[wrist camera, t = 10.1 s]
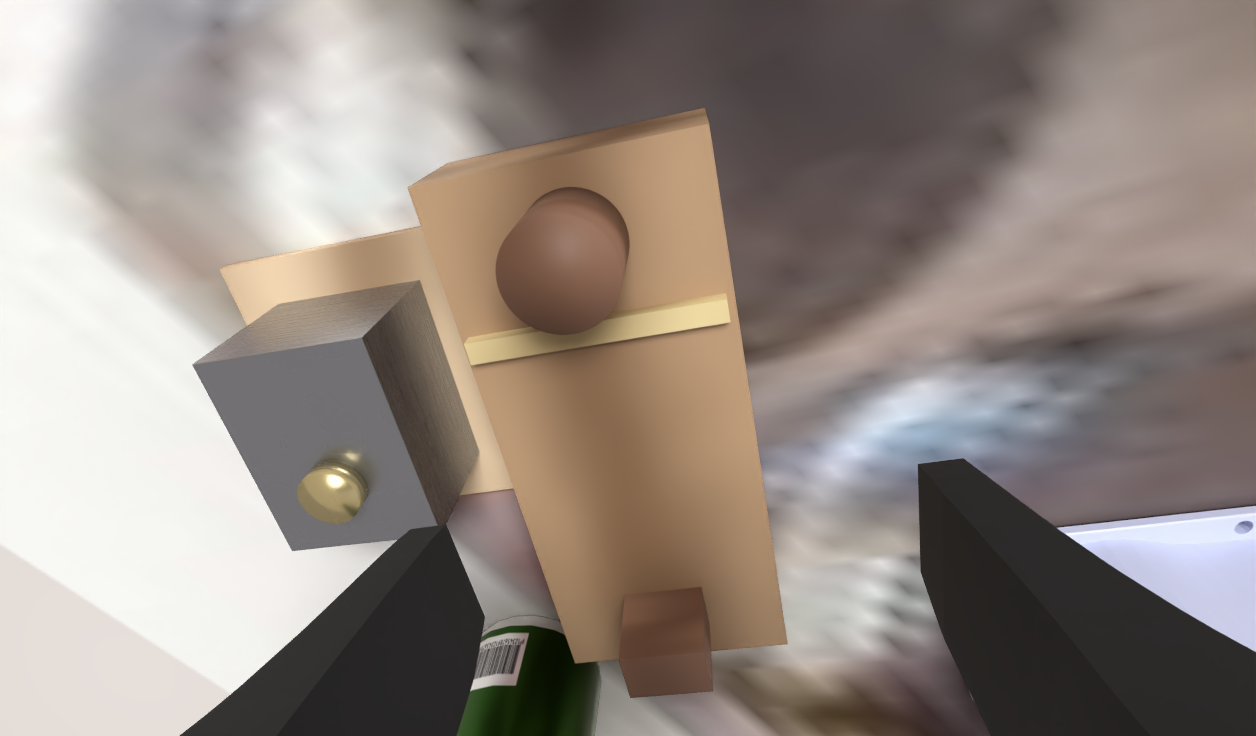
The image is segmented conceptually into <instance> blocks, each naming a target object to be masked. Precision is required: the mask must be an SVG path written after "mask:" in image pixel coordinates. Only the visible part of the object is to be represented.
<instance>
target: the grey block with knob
mask: <svg viewBox="0 0 1256 736" xmlns="http://www.w3.org/2000/svg"><path fill="white" fill-rule="evenodd" d="M193 367H194V369H195V371H196V372H197V374H198V376H199V378H200V380H201V382H202V384H203V385H204V387H205V389H206V391H207V393H208V395H209V397H210V399H211V400H212V402H213V404H214V406H215V408H216V410H217V412H218V413H219V415H220V417H221V419H222V421H223V423H224V425H225V426H226V428H227V430H228V432H229V434H230V436H231V438H232V440H233V441H234V443H235V445H236V447H237V449H238V451H239V453H240V454H241V456H242V458H243V460H244V462H245V464H246V466H247V468H248V469H249V471H250V473H251V475H252V477H253V479H254V481H255V482H256V484H257V486H258V488H259V490H260V492H261V494H262V495H263V497H264V499H265V501H266V503H267V505H268V507H269V509H270V510H271V512H272V514H273V516H274V518H275V520H276V522H277V523H278V525H279V527H280V529H281V531H282V533H283V535H284V536H285V538H286V540H287V542H288V544H289V546H290V548H291V550H292V551H297V550H306V549H315V548H324V547H333V546H342V545H351V544H360V543H370V542H379V541H388V540H397V539H399V538H401V537H402V536H403V535H404V534H405V533H407V532H408V531H409V530H410V529H415V528H422V527H430V526H438V525H446V523H447V521H448V519H449V517H450V515H451V512H452V510H453V508H454V506H455V504H456V502H457V500H458V497H459V495H460V493H461V491H462V489H463V487H464V484H465V482H466V480H467V478H468V476H469V474H470V471H471V469H472V467H473V465H474V463H475V461H476V459H477V456H478V454H479V449H478V446H477V443H476V440H475V437H474V434H473V432H472V429H471V426H470V423H469V420H468V417H467V414H466V411H465V409H464V406H463V403H462V400H461V397H460V394H459V391H458V388H457V386H456V383H455V380H454V377H453V374H452V371H451V368H450V365H449V363H448V360H447V357H446V354H445V351H444V348H443V345H442V342H441V340H440V337H439V334H438V331H437V328H436V325H435V322H434V319H433V316H432V314H431V311H430V308H429V305H428V302H427V299H426V296H425V293H424V291H423V288H422V285H421V282H420V280H416V281H410V282H404V283H398V284H393V285H387V286H381V287H375V288H369V289H363V290H357V291H351V292H346V293H340V294H334V295H328V296H322V297H316V298H310V299H304V300H298V301H293V302H287V303H281V304H278V305H276V306H275V307H273V308H272V309H270V310H269V311H268V312H266V313H265V314H263V315H262V316H261V317H259V318H258V319H256V320H255V321H253V322H252V323H251V324H249V325H248V326H246V327H245V328H244V329H242V330H241V331H239V332H238V333H236V334H235V335H234V336H232V337H231V338H229V339H228V340H227V341H225V342H224V343H222V344H221V345H219V346H218V347H217V348H215V349H214V350H212V351H211V352H210V353H208V354H207V355H205V356H204V357H202V358H201V359H200V360H198V361H197V362H195V363H194V364H193Z"/></svg>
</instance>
